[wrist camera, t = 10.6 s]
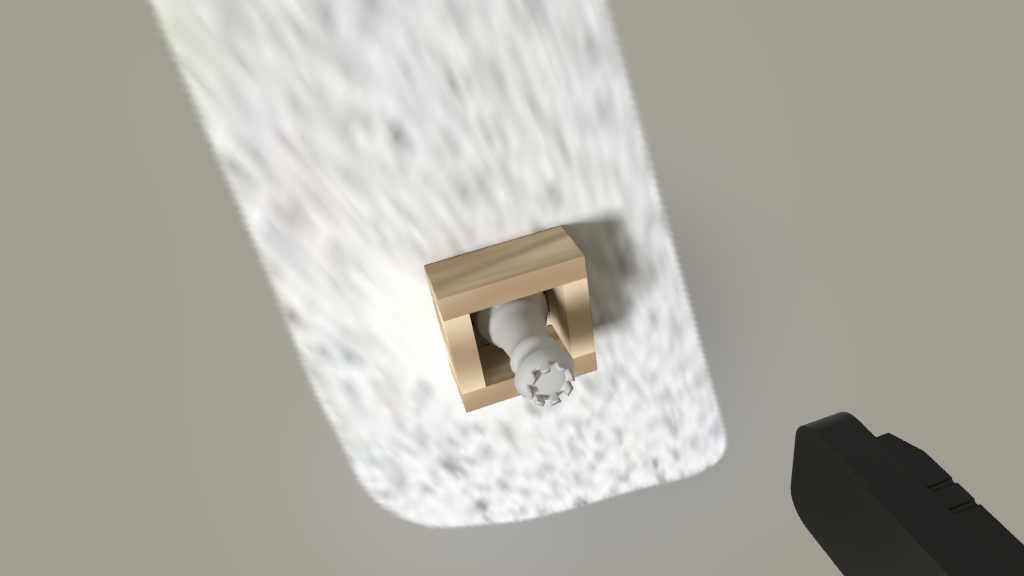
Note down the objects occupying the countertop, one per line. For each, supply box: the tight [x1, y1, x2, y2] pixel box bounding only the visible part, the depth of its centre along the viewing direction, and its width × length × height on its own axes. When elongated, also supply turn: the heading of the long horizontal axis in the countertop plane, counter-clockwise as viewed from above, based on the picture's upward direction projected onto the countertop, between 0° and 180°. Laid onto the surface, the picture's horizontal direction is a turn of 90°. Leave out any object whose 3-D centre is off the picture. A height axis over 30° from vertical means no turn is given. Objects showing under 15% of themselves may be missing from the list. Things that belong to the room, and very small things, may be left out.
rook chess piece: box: [470, 291, 575, 406], centre depth 41 cm, size 4×4×8 cm
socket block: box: [424, 226, 597, 412], centre depth 43 cm, size 8×8×4 cm
